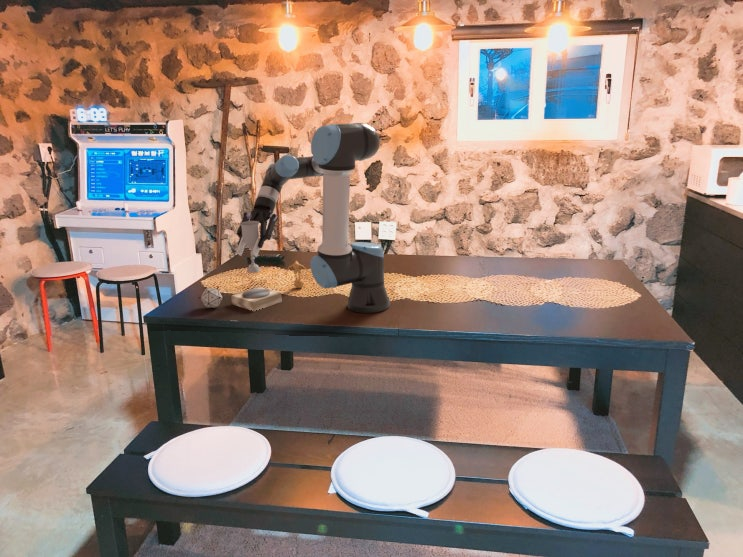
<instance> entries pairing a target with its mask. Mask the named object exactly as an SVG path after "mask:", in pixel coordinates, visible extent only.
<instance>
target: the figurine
mask: <svg viewBox="0 0 743 557" xmlns="http://www.w3.org/2000/svg"><path fill="white" fill-rule="evenodd" d="M291 267H293V268H294V269H293V273H294V274H295V275H294V278H295V279H294V281H293V286H294V287H295V288H296V289H302V288H303V287H304V284H305V281H304V280H303V279H302V278H301V276H302V275H301V274H302V272H301V268H300V267H302V268H304V269H305V270H306V271H307V272H309V271H308V269H307V268H306V267H305V266H304V265H303V264H301V263H299V261H298V260H295V261H294V263H292V264H290V265H289V266H288V267H287V270H286V273H288V272H289V270H290V268H291ZM297 273H298V274H299V275H298V277H297Z"/></svg>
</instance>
